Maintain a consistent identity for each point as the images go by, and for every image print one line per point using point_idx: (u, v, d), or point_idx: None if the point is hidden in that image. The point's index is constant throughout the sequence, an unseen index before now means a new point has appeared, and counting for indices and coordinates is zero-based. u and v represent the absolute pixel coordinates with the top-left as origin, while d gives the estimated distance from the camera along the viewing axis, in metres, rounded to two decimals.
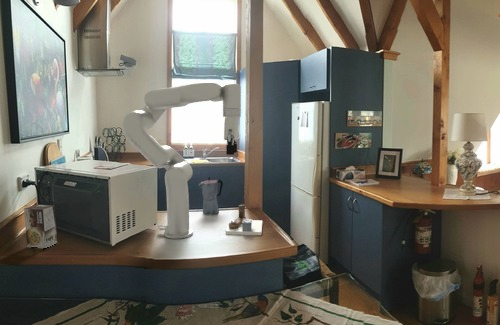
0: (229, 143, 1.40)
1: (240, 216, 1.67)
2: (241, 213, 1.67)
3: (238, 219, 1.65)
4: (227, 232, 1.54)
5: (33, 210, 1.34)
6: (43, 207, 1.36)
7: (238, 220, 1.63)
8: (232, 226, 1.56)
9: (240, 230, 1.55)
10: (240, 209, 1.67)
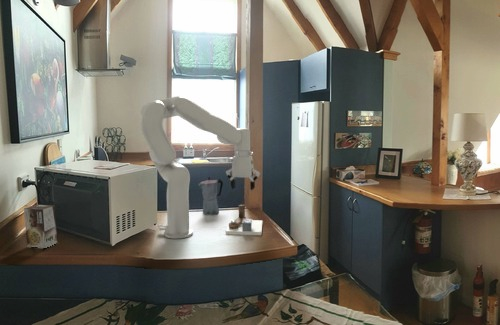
0: None
1: (240, 216, 1.67)
2: (241, 213, 1.67)
3: (238, 219, 1.65)
4: (227, 232, 1.54)
5: (33, 210, 1.34)
6: (43, 207, 1.36)
7: (238, 220, 1.63)
8: (232, 226, 1.56)
9: (240, 230, 1.55)
10: (240, 209, 1.67)
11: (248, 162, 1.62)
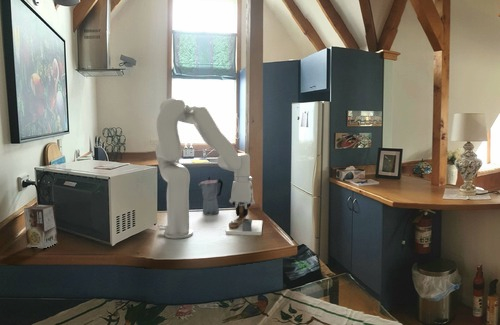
0: None
1: (240, 216, 1.67)
2: (241, 213, 1.67)
3: (238, 219, 1.65)
4: (227, 232, 1.54)
5: (33, 210, 1.34)
6: (43, 207, 1.36)
7: (238, 220, 1.63)
8: (232, 226, 1.56)
9: (240, 230, 1.55)
10: (240, 209, 1.67)
11: (247, 187, 1.64)
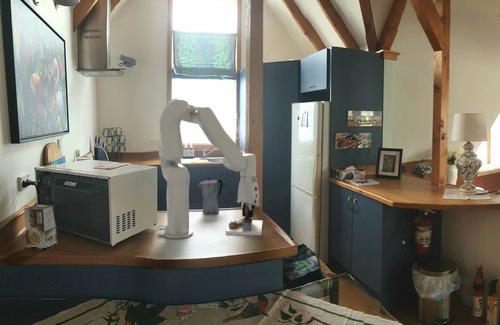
0: None
1: (245, 217, 1.66)
2: (246, 214, 1.66)
3: (242, 220, 1.64)
4: (227, 232, 1.54)
5: (33, 210, 1.34)
6: (43, 207, 1.36)
7: (241, 221, 1.62)
8: (231, 226, 1.57)
9: (240, 230, 1.55)
10: (245, 210, 1.66)
11: (251, 188, 1.61)
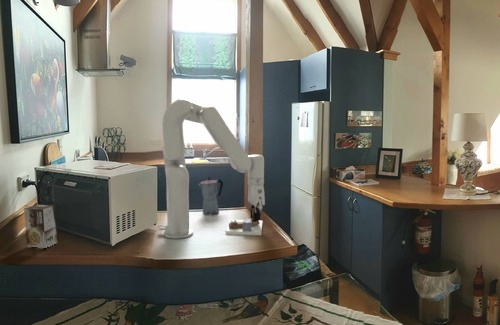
0: None
1: (252, 219, 1.62)
2: (252, 216, 1.62)
3: None
4: (227, 232, 1.54)
5: (33, 210, 1.34)
6: (43, 207, 1.36)
7: None
8: (229, 225, 1.57)
9: (240, 230, 1.55)
10: (252, 212, 1.62)
11: (254, 190, 1.57)
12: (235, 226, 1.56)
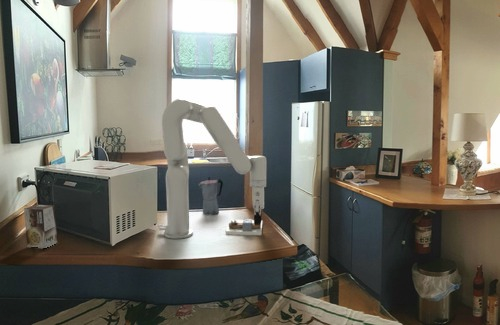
0: None
1: None
2: None
3: None
4: (227, 232, 1.54)
5: (33, 210, 1.34)
6: (43, 207, 1.36)
7: None
8: None
9: (240, 230, 1.55)
10: (254, 214, 1.58)
11: (252, 192, 1.52)
12: (233, 226, 1.56)
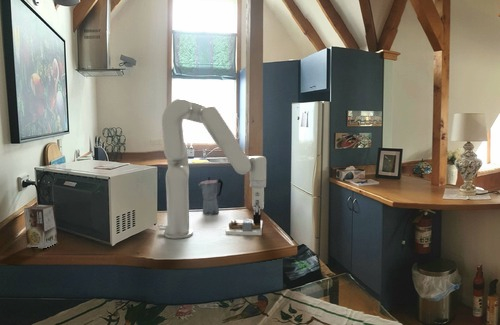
0: None
1: None
2: None
3: None
4: (227, 232, 1.54)
5: (33, 210, 1.34)
6: (43, 207, 1.36)
7: None
8: None
9: (240, 230, 1.55)
10: None
11: (252, 193, 1.52)
12: (233, 226, 1.56)
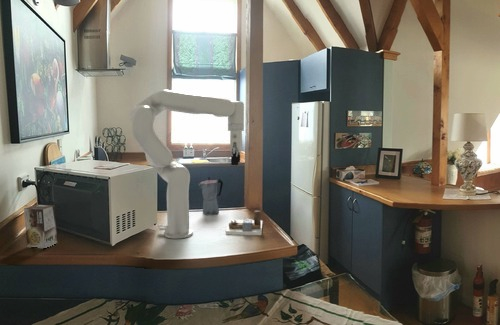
0: None
1: (254, 222, 1.58)
2: (254, 219, 1.57)
3: None
4: (227, 232, 1.54)
5: (33, 210, 1.34)
6: (43, 207, 1.36)
7: None
8: None
9: (240, 230, 1.55)
10: (254, 214, 1.57)
11: (230, 136, 1.59)
12: (233, 226, 1.56)
